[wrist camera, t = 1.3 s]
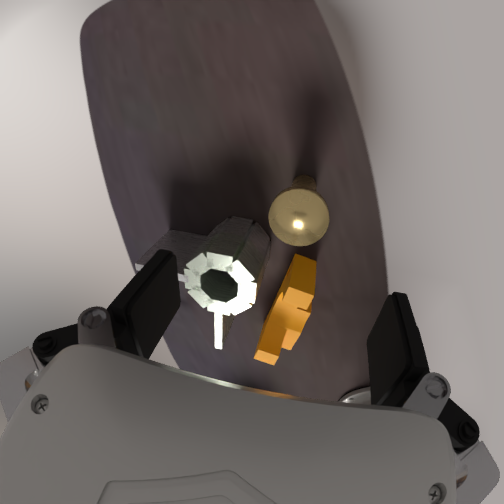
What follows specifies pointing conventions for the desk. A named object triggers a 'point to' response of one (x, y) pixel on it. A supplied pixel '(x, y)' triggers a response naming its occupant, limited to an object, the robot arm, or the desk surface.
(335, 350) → the desk surface
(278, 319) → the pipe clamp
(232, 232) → the hinge
